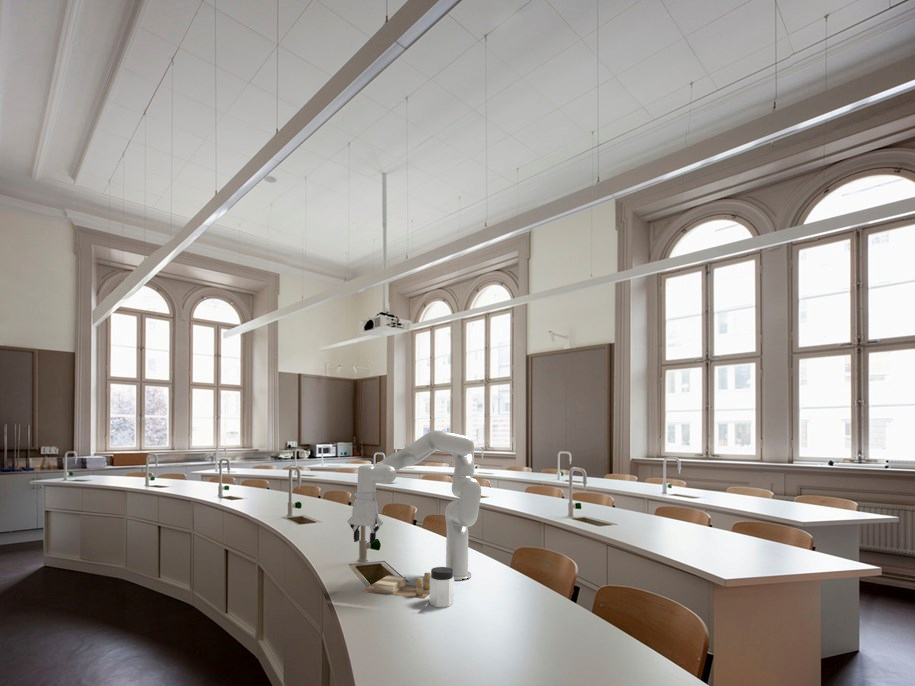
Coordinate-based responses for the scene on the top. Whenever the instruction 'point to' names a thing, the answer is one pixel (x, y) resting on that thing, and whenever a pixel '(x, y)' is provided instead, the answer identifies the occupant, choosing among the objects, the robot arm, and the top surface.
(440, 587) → the jar
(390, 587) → the cream rectangular slab
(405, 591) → the board
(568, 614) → the top surface
